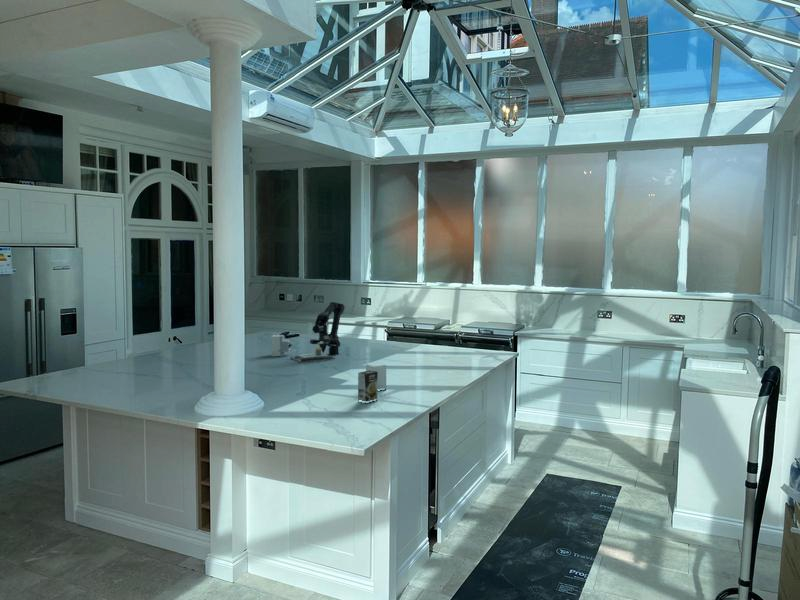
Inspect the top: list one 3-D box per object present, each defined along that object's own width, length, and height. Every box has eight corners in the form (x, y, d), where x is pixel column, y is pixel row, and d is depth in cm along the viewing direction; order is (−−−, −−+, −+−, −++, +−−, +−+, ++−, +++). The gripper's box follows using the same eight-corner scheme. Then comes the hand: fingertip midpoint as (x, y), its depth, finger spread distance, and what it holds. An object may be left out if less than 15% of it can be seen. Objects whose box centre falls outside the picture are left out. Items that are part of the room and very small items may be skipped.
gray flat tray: (323, 354, 470) (323, 352, 469) (330, 357, 457) (330, 356, 457) (294, 357, 458) (294, 355, 458) (301, 360, 446) (301, 358, 446)
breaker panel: (324, 355, 473) (324, 351, 473) (334, 359, 456) (334, 355, 455) (291, 358, 460) (290, 354, 460) (300, 363, 443) (300, 358, 443)
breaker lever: (319, 356, 462) (319, 347, 461) (321, 356, 459) (321, 348, 459) (315, 356, 460) (315, 347, 460) (316, 357, 458) (316, 348, 457)
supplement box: (386, 390, 364) (386, 364, 363) (373, 392, 360) (373, 366, 358) (378, 387, 372) (378, 362, 370) (365, 389, 367) (365, 363, 366)
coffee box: (366, 404, 334) (366, 374, 333) (357, 402, 338) (357, 372, 337) (378, 400, 341) (378, 371, 339) (369, 398, 345) (369, 369, 344)
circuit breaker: (290, 356, 467) (290, 336, 466) (271, 356, 468) (270, 336, 466) (292, 354, 475) (292, 335, 473) (273, 354, 475) (273, 334, 474)
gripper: (315, 333, 448) (315, 355, 450) (339, 331, 458) (339, 353, 459) (309, 331, 458) (309, 353, 460) (333, 329, 467) (333, 350, 469)
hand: (323, 352), depth 462 cm, fingers closed
